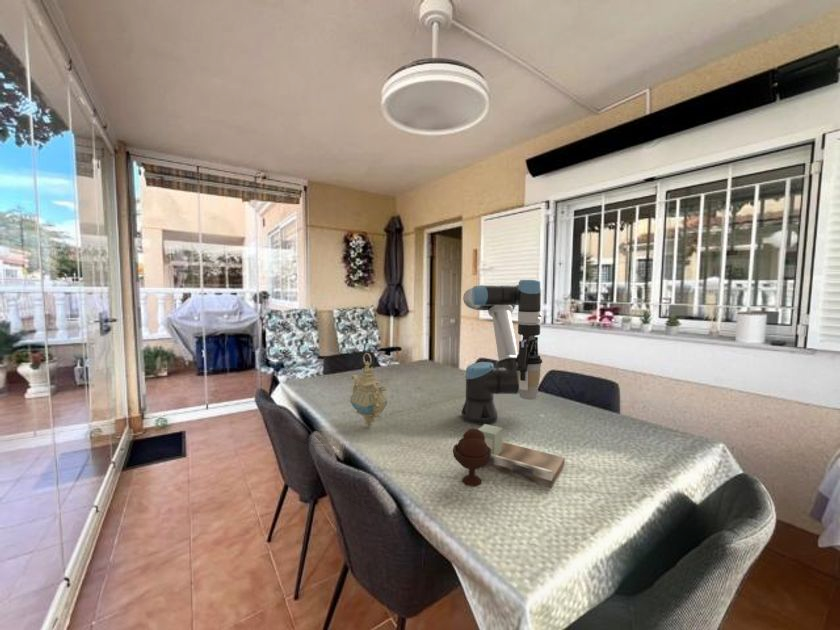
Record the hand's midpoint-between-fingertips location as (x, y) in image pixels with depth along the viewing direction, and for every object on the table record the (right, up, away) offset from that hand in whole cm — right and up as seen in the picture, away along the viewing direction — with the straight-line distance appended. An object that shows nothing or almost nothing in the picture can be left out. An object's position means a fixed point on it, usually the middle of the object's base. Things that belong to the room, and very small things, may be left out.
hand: (528, 385), depth 127 cm
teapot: (-59, -20, +16) cm, 64 cm away
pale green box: (-16, -19, -12) cm, 28 cm away
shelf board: (-8, -22, -15) cm, 27 cm away
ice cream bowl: (-24, -23, -24) cm, 41 cm away
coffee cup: (0, -4, 0) cm, 4 cm away
